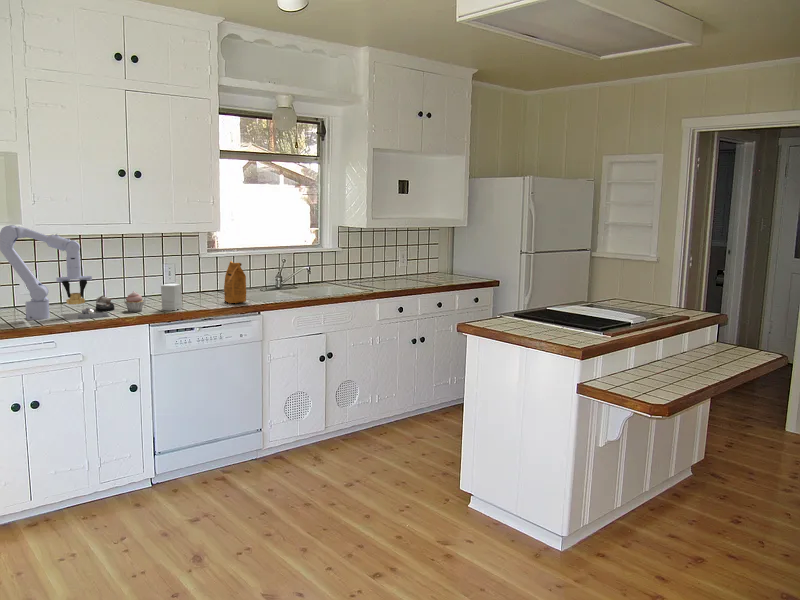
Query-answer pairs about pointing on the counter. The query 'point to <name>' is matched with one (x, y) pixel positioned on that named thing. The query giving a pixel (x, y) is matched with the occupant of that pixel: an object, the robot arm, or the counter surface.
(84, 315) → the carrier
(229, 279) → the coffee package
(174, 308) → the supplement box
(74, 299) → the planet gear
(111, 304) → the caster wheel
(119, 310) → the counter surface
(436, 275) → the counter surface
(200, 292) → the counter surface
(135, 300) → the cupcake
